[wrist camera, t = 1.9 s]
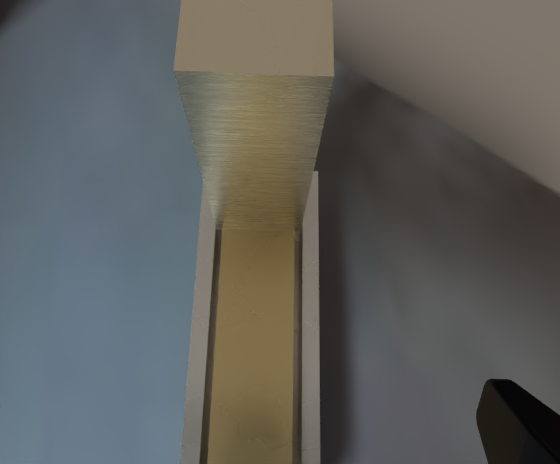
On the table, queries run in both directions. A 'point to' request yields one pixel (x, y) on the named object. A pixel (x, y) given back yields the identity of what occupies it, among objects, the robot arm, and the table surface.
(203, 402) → the u-shaped channel
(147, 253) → the table surface
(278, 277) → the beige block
